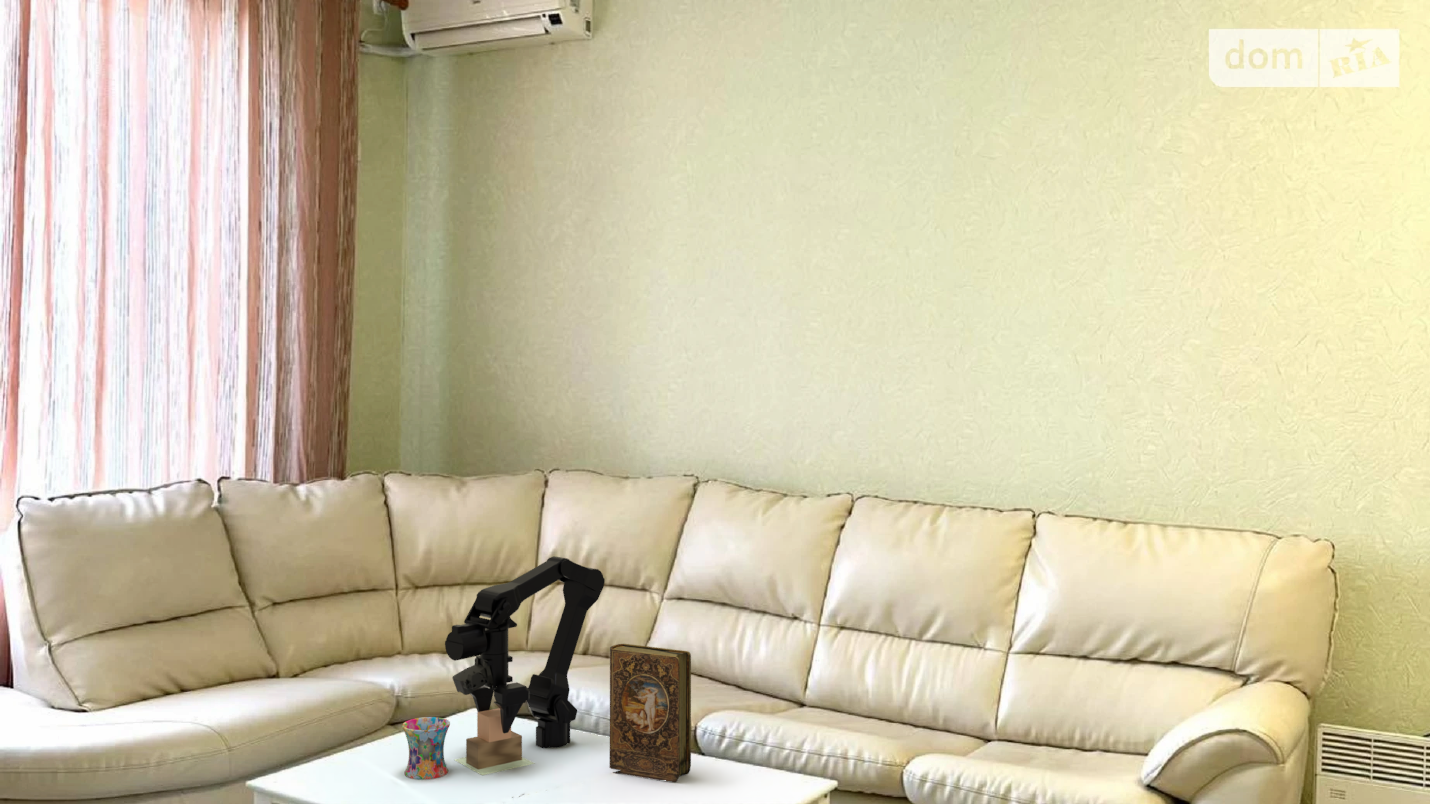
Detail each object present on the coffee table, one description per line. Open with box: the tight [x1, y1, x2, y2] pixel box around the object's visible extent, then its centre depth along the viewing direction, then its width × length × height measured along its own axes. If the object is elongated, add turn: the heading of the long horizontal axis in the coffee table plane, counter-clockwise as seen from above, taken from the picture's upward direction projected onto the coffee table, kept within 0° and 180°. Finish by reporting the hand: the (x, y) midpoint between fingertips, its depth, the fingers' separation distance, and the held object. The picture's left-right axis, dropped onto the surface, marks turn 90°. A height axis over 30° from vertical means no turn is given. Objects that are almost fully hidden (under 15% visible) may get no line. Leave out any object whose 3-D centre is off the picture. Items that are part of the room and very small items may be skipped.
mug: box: [401, 716, 451, 781], centre depth 263 cm, size 12×9×11 cm
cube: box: [476, 707, 512, 742], centre depth 268 cm, size 5×5×5 cm
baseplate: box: [454, 756, 536, 776], centre depth 269 cm, size 12×12×1 cm
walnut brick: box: [465, 730, 523, 769], centre depth 269 cm, size 10×5×5 cm, turn 128°
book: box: [609, 643, 692, 783], centre depth 264 cm, size 16×6×25 cm, turn 65°
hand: (494, 727), depth 268 cm, fingers open, 9 cm apart
